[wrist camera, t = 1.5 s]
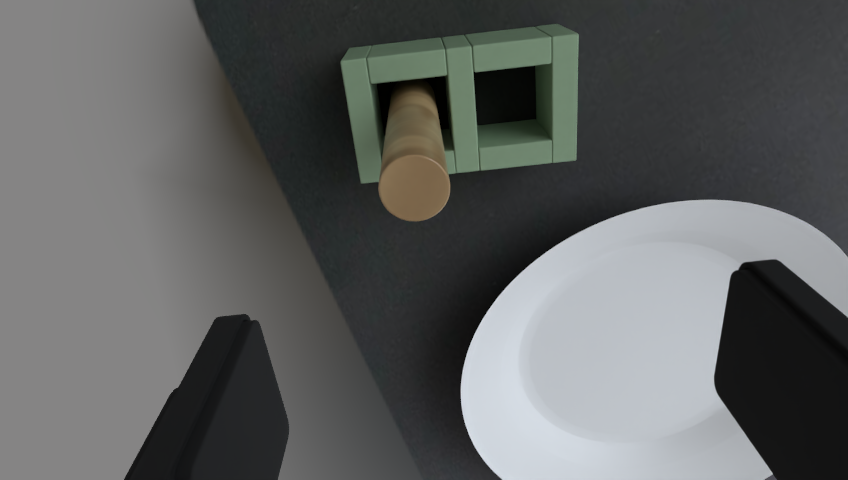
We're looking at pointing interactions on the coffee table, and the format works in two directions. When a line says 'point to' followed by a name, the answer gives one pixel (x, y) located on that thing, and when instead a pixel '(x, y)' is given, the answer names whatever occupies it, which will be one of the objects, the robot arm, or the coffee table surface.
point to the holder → (471, 96)
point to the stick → (413, 154)
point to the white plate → (629, 346)
